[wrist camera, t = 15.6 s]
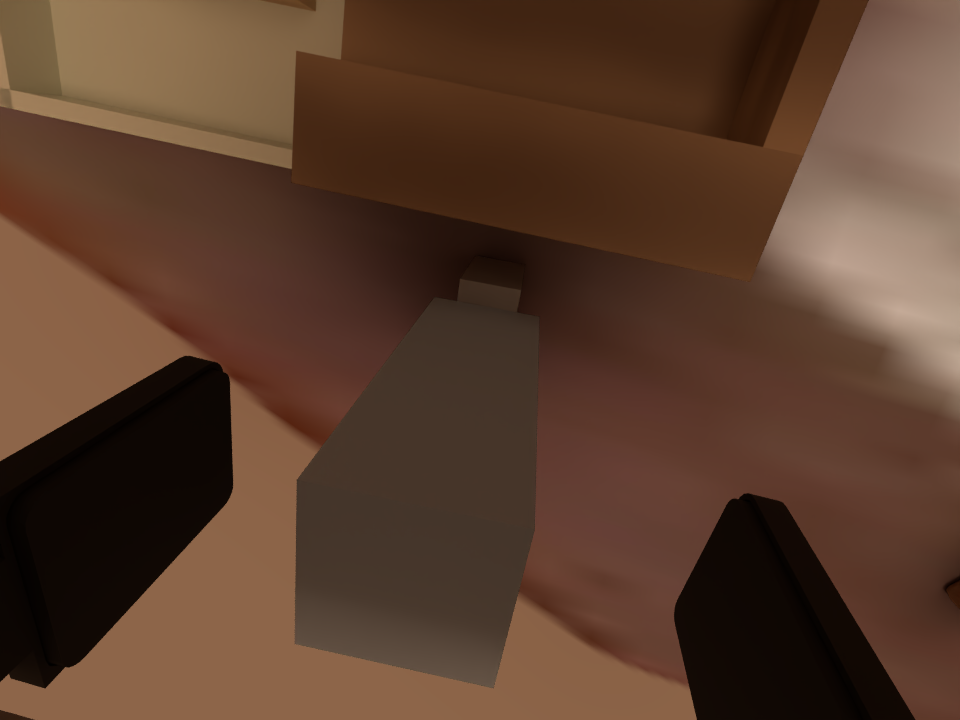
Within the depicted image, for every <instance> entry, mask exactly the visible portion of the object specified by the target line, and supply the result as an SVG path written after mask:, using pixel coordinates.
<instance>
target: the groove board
mask: <svg viewBox="0 0 960 720" xmlns="http://www.w3.org/2000/svg"><path fill="white" fill-rule="evenodd" d="M868 1H869V0H345V5H344V20H343V34H342V49H341V60H339V59H335V58H330V57H325V56H320V55H315V54H310V53H306V52H301V51H296V66H295V93H294V120H293V147H292V174H291V183H295V184H299V185H304V186H309V187H313V188H318V189H322V190H327V191H332V192H336V193H341V194H346V195H350V196H355V197H359V198H364V199H369V200H373V201H378V202H383V203H387V204H392V205H396V206H401V207H406V208H410V209H415V210H420V211H424V212H429V213H433V214H438V215H443V216H447V217H452V218H456V219H461V220H466V221H470V222H475V223H480V224H484V225H489V226H493V227H498V228H503V229H507V230H512V231H517V232H521V233H526V234H530V235H535V236H540V237H544V238H549V239H554V240H558V241H563V242H567V243H572V244H577V245H581V246H586V247H590V248H595V249H600V250H604V251H609V252H614V253H618V254H623V255H627V256H632V257H637V258H641V259H646V260H651V261H655V262H660V263H664V264H669V265H674V266H678V267H683V268H688V269H692V270H697V271H701V272H706V273H711V274H715V275H720V276H725V277H729V278H734V279H738V280H743V281H748V282H750V281H751V279H752V276H753V274H754V271H755V269H756V267H757V264H758V262H759V260H760V257H761V255H762V252H763V250H764V248H765V245H766V243H767V241H768V238H769V236H770V233H771V231H772V229H773V226H774V224H775V222H776V219H777V217H778V214H779V212H780V210H781V207H782V205H783V203H784V200H785V198H786V195H787V193H788V191H789V188H790V186H791V184H792V181H793V179H794V176H795V174H796V172H797V169H798V167H799V165H800V162H801V160H802V157H803V155H804V153H805V150H806V148H807V146H808V143H809V141H810V138H811V136H812V134H813V131H814V129H815V127H816V124H817V122H818V119H819V117H820V115H821V112H822V110H823V108H824V105H825V103H826V100H827V98H828V96H829V93H830V91H831V89H832V86H833V84H834V81H835V79H836V77H837V74H838V72H839V70H840V67H841V65H842V62H843V60H844V58H845V55H846V53H847V51H848V48H849V46H850V43H851V41H852V39H853V36H854V34H855V32H856V29H857V27H858V24H859V22H860V20H861V17H862V15H863V13H864V10H865V8H866V5H867V3H868Z"/></svg>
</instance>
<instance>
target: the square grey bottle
mask: <svg viewBox="0 0 960 720" xmlns="http://www.w3.org/2000/svg"><path fill="white" fill-rule="evenodd" d="M524 270H525V264H519V263H514V262H508V261H503V260H497V259H492V258H486V257H481V256H475V257H474V259H473V260H472V262H471V263H470V265H469V266H468V268H467V269H466V271H465V272H464V274H463V275H462V277H461V278H460V283H459V290H458V297H457V301H454V300H448V299H443V298H438V297H434V298H433V300H432V301H431V302H430V304H429V305H428V306H427V308H426V309H425V310H424V312H423V313H422V314H421V316H420V317H419V318H418V320H417V321H416V322H415V324H414V325H413V326H412V328H411V329H410V330H409V332H408V333H407V334H406V336H405V337H404V338H403V340H402V341H401V342H400V344H399V345H398V346H397V348H396V349H395V350H394V352H393V353H392V354H391V356H390V357H389V358H388V360H387V361H386V362H385V364H384V365H383V366H382V368H381V369H380V370H379V372H378V373H377V374H376V376H375V377H374V378H373V379H372V381H371V382H370V383H369V385H368V386H367V387H366V389H365V390H364V391H363V393H362V394H361V395H360V397H359V398H358V399H357V401H356V402H355V403H354V405H353V406H352V407H351V409H350V410H349V411H348V413H347V414H346V415H345V417H344V418H343V419H342V421H341V422H340V423H339V425H338V426H337V427H336V429H335V430H334V431H333V433H332V434H331V435H330V437H329V438H328V439H327V441H326V442H325V443H324V445H323V446H322V447H321V449H320V450H319V451H318V453H317V454H316V455H315V457H314V458H313V459H312V461H311V462H310V463H309V465H308V466H307V467H306V468H305V470H304V471H303V472H302V474H301V475H300V476H299V478H298V479H297V513H296V588H295V644H298V645H302V646H307V647H312V648H316V649H320V650H325V651H329V652H334V653H338V654H343V655H347V656H352V657H356V658H361V659H365V660H370V661H374V662H379V663H383V664H388V665H392V666H396V667H401V668H405V669H410V670H414V671H419V672H423V673H428V674H432V675H437V676H441V677H446V678H450V679H455V680H459V681H464V682H468V683H473V684H477V685H481V686H486V687H490V688H494V685H495V681H496V677H497V673H498V669H499V665H500V661H501V658H502V654H503V650H504V646H505V642H506V638H507V635H508V630H509V627H510V623H511V619H512V615H513V611H514V607H515V604H516V600H517V596H518V592H519V588H520V584H521V580H522V577H523V573H524V569H525V565H526V561H527V557H528V553H529V550H530V546H531V542H532V538H533V534H534V530H535V496H536V452H537V408H538V363H539V319H540V317H539V316H533V315H528V314H523V313H517V309H518V304H519V299H520V294H521V289H522V282H523V276H524Z"/></svg>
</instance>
